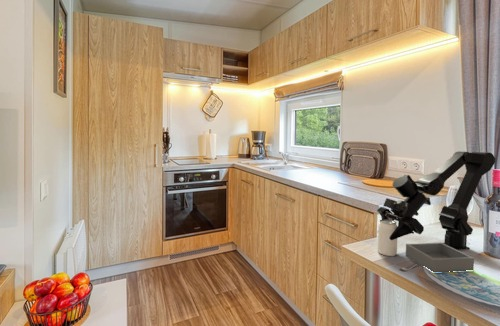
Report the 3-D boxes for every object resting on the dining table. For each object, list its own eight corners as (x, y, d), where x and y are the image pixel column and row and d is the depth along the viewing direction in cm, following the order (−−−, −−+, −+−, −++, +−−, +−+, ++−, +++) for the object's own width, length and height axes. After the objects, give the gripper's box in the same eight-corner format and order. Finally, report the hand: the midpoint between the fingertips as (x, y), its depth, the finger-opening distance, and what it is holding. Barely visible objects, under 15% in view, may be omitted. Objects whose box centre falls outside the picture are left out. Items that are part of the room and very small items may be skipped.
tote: (440, 254, 102) (441, 242, 101) (473, 271, 88) (474, 258, 88) (405, 255, 101) (406, 243, 100) (433, 273, 87) (433, 259, 87)
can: (399, 257, 100) (400, 224, 99) (380, 255, 101) (380, 223, 100) (393, 250, 106) (394, 219, 105) (375, 249, 107) (376, 218, 106)
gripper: (381, 187, 112) (356, 215, 110) (417, 195, 93) (387, 230, 92) (398, 205, 114) (373, 233, 113) (436, 217, 95) (407, 251, 94)
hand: (384, 236), depth 103 cm, fingers closed on can, 6 cm apart
